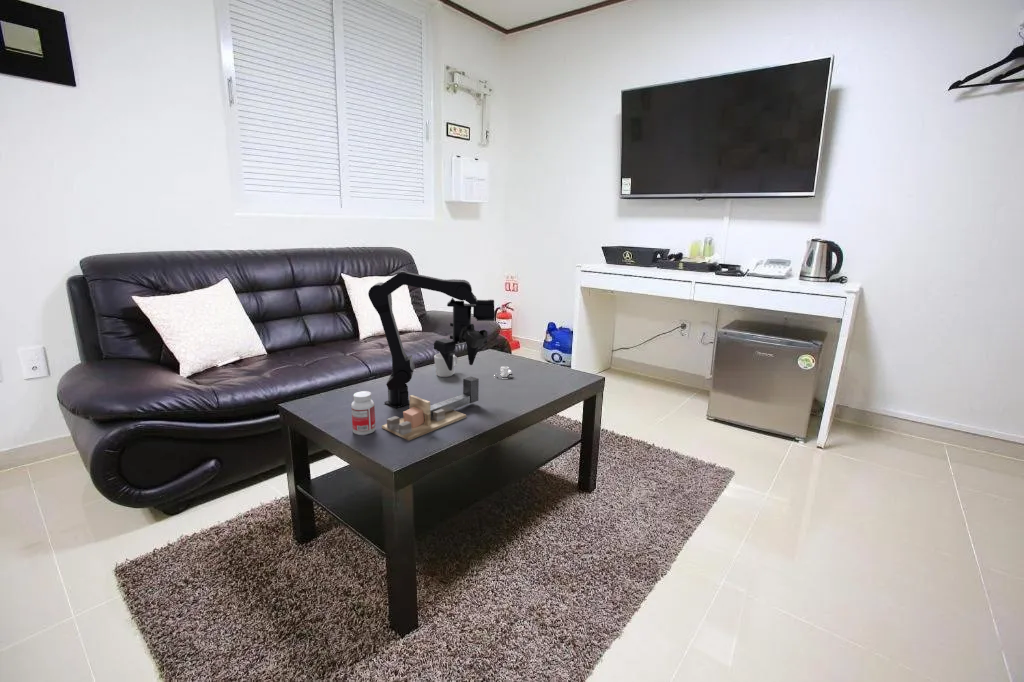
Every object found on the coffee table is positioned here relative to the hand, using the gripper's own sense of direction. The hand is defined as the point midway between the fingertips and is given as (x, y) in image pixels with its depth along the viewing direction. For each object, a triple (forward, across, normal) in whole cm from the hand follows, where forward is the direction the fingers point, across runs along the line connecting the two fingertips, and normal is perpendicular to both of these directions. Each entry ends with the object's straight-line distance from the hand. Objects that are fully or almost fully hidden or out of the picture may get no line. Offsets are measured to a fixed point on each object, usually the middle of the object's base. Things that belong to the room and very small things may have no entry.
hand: (460, 367), depth 153 cm
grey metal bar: (+11, -8, -4) cm, 14 cm away
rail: (+12, -18, -4) cm, 22 cm away
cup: (+12, +18, +25) cm, 33 cm away
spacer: (+11, -22, -4) cm, 25 cm away
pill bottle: (+13, -34, +4) cm, 36 cm away
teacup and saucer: (+12, +34, +6) cm, 37 cm away
